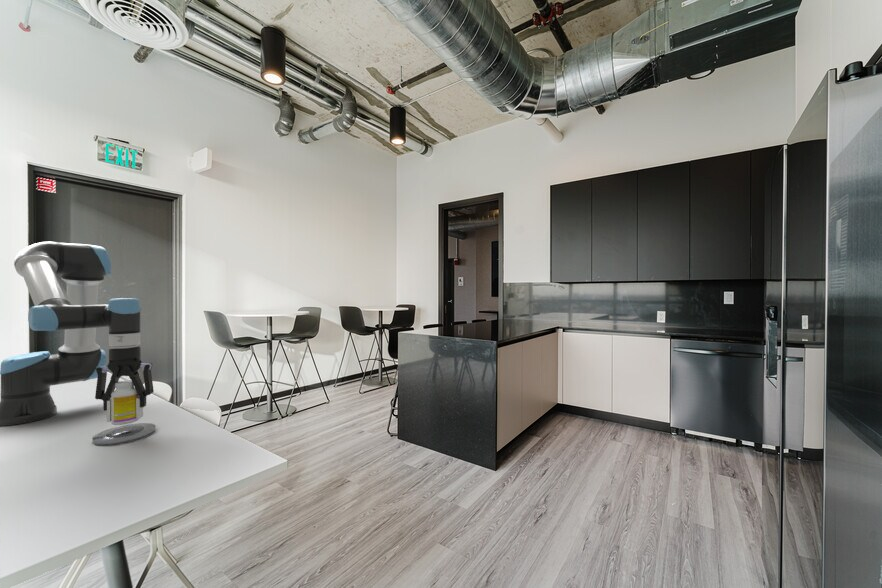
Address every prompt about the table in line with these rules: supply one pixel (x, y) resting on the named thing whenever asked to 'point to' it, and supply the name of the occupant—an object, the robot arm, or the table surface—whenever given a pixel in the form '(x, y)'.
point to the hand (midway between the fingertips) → (125, 418)
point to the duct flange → (123, 434)
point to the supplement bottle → (123, 403)
